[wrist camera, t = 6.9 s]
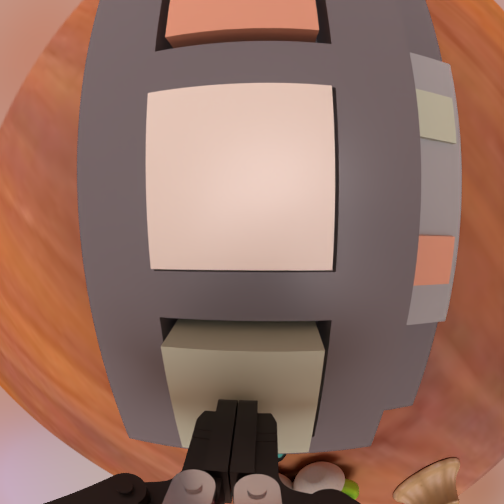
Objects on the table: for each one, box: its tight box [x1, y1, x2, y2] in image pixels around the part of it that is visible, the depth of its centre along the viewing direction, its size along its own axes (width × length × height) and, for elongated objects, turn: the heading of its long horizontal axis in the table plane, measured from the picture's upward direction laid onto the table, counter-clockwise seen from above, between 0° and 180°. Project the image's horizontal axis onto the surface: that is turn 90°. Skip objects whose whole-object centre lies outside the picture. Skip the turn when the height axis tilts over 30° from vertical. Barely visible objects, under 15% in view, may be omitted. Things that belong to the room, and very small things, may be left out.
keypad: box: [77, 0, 462, 454], centre depth 12 cm, size 18×28×4 cm, turn 1°
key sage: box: [161, 319, 325, 453], centre depth 12 cm, size 6×6×2 cm
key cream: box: [146, 83, 335, 270], centre depth 10 cm, size 6×6×2 cm
